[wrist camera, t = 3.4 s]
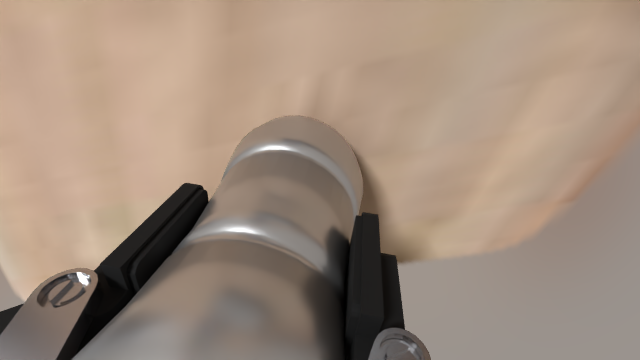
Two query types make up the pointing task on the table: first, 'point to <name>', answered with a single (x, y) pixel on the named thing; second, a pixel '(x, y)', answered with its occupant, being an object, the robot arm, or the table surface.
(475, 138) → the table surface
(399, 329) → the robot arm
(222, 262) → the metal water bottle
